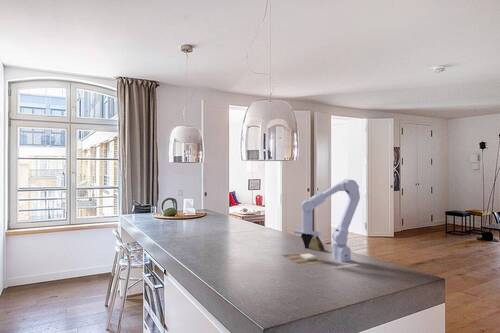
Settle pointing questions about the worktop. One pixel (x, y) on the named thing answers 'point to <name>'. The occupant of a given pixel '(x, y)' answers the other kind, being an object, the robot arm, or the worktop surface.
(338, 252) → the robot arm
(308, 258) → the tile
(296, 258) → the board
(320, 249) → the rock
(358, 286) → the worktop surface
